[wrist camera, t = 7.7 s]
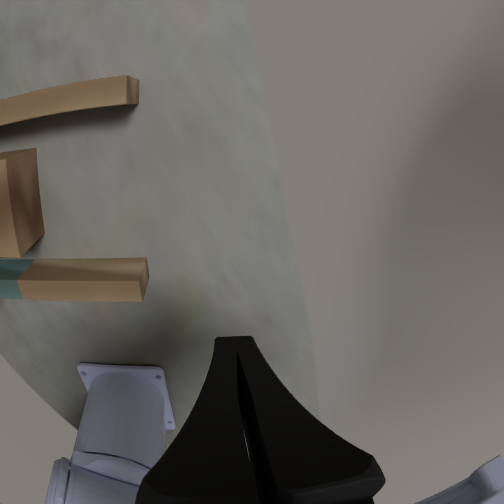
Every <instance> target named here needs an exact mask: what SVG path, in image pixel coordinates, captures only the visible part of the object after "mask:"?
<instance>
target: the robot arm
mask: <svg viewBox="0 0 504 504" xmlns="http://www.w3.org/2000/svg"><path fill="white" fill-rule="evenodd" d="M77 369H78V372H79V374H80V376H81V379H82V381H83V383H84V385H85V388H86V390H87V392H88V396H87V399H86V403H85V406H84V410H83V414H82V418H81V422H80V426H79V430H78V434H77V438H76V442H75V446H74V451H73V455H72V457H71V460H70V462H69V459H67V458H65V457H62V458H61V459H58V460H56V461H55V462H54V465H53V469H52V473H51V477H50V482H49V487H48V492H47V496H46V502H45V504H374V501H373V498H372V497H373V496H374V495H375V494H376V493H377V492H378V491H379V490H380V489H381V488H382V487H383V485H384V484H385V477H384V474H383V472H382V470H381V468H380V466H379V465H378V463H377V462H376V460H375V458H374V457H373V456H372V455H370V454H368V453H366V452H365V451H363V450H361V449H359V448H357V447H356V446H354V445H352V444H350V443H349V442H347V441H346V440H344V439H343V438H341V437H340V436H338V435H337V434H335V433H334V432H333V431H332V430H330V429H329V428H327V427H326V426H325V425H324V424H322V423H321V422H320V421H319V420H317V419H316V418H315V417H314V416H313V415H312V414H311V413H310V412H308V411H307V410H306V409H305V408H304V407H303V406H302V405H301V404H300V403H299V402H298V401H297V400H296V399H295V398H294V397H293V395H292V394H291V393H290V392H289V391H288V390H287V388H286V387H285V386H284V385H283V384H282V382H281V381H280V380H279V379H278V377H277V376H276V374H275V373H274V372H273V370H272V369H271V367H270V366H269V365H268V363H267V362H266V360H265V358H264V357H263V355H262V354H261V352H260V350H259V348H258V346H257V345H256V343H255V340H254V338H253V337H252V336H233V337H217V338H216V339H215V345H214V352H213V357H212V361H211V364H210V367H209V371H208V374H207V377H206V380H205V382H204V385H203V387H202V390H201V392H200V394H199V397H198V399H197V401H196V403H195V405H194V407H193V409H192V411H191V413H190V415H189V417H188V418H187V420H186V422H185V423H184V425H183V427H182V428H181V430H180V432H179V433H178V435H177V436H176V438H175V439H174V441H173V442H172V443H171V445H170V446H169V447H168V449H167V450H166V451H165V447H166V429H175V428H176V423H175V419H174V415H173V411H172V407H171V402H170V398H169V393H168V389H167V384H166V379H165V375H164V370H163V369H162V368H161V367H153V366H121V365H102V364H88V363H79V364H78V366H77ZM157 375H159V376H157ZM242 425H243V426H242ZM243 430H244V431H243ZM244 434H245V437H244ZM245 438H246V442H247V446H246V442H245ZM247 447H248V451H247ZM248 452H249V456H248ZM249 459H250V461H249ZM415 504H504V459H503V458H502V456H501V455H498V456H496V457H495V458H493V459H492V460H490V461H488V462H487V463H485V464H483V465H482V466H480V467H479V468H478V469H477V470H475V471H474V472H473V473H472V474H471V475H470V477H468V478H466V479H465V480H463V481H461V482H459V483H457V484H455V485H454V486H451V487H449V488H447V489H445V490H443V491H441V492H439V493H437V494H435V495H433V496H431V497H429V498H427V499H424V500H422V501H420V502H417V503H415Z"/></svg>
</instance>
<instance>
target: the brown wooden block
mask: <svg viewBox="0 0 504 504" xmlns="http://www.w3.org/2000/svg"><path fill="white" fill-rule="evenodd" d="M44 234H45V231H44V224H43V217H42V210H41V202H40V193H39V182H38V170H37V153H36V148H31V149H23V150H16V151H9V152H2V153H0V257H13V258H21V257H22V256H23V255H24V254H25V252H26V251H27V250H28V249H29V248H30V247H31V246H32V245H33V244H34V243H35V242H36V241H37V240H38V239H39V238H41V237H42V236H43V235H44Z"/></svg>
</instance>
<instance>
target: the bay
mask: <svg viewBox="0 0 504 504" xmlns="http://www.w3.org/2000/svg"><path fill="white" fill-rule="evenodd" d="M132 104H139V80H138V79H136V78H133V77H130V76H127V75H126V76H117V77H109V78H101V79H94V80H88V81H82V82H76V83H70V84H65V85H60V86H55V87H50V88H46V89H41V90H37V91H33V92H29V93H25V94H21V95H17V96H14V97H10V98H7V99H3V100H0V126H4V125H8V124H12V123H16V122H21V121H25V120H30V119H35V118H40V117H45V116H50V115H55V114H61V113H67V112H73V111H80V110H87V109H95V108H103V107H111V106H121V105H132ZM148 280H149V272H148V264H147V258H115V259H48V260H0V298H10V299H30V300H55V301H91V302H142V301H143V298H144V294H145V290H146V287H147V283H148Z"/></svg>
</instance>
